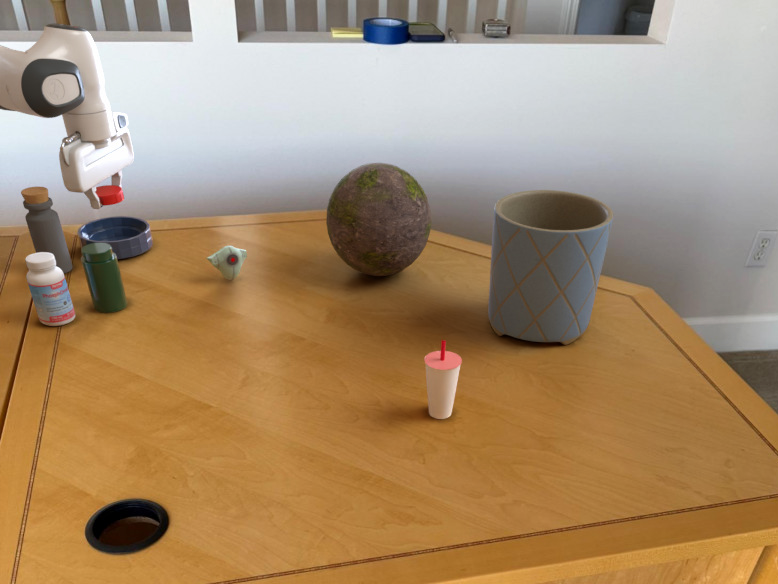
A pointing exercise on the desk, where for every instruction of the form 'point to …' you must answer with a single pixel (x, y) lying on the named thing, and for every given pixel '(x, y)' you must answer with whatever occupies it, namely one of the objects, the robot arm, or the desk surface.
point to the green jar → (103, 278)
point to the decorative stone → (378, 219)
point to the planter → (546, 264)
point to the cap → (110, 194)
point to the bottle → (45, 226)
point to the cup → (441, 381)
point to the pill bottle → (49, 290)
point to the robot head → (228, 261)
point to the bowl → (118, 235)
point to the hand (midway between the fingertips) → (107, 201)
